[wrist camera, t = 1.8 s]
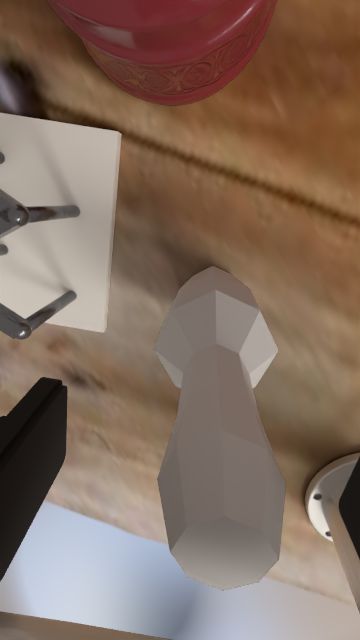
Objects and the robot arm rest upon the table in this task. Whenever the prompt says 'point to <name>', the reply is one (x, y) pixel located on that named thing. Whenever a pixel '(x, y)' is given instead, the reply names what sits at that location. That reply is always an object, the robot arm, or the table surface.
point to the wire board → (62, 234)
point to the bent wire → (3, 218)
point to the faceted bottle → (219, 435)
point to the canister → (169, 42)
